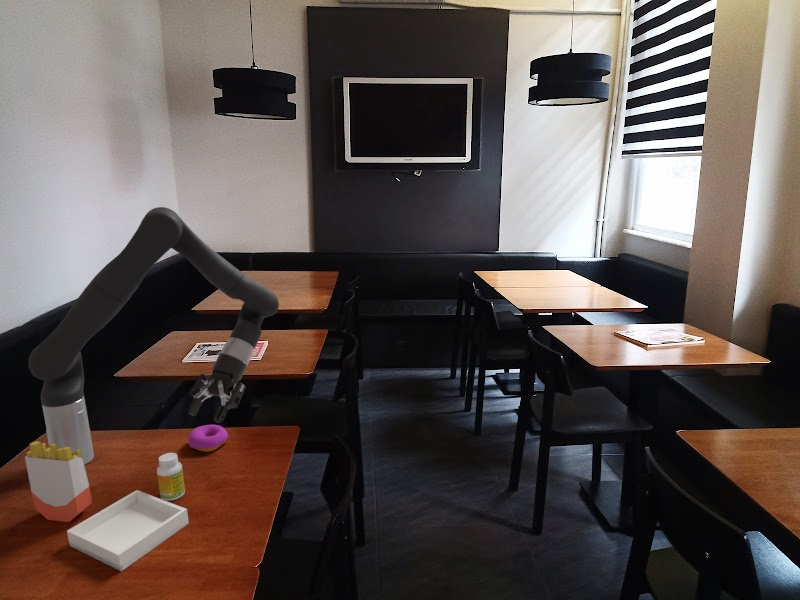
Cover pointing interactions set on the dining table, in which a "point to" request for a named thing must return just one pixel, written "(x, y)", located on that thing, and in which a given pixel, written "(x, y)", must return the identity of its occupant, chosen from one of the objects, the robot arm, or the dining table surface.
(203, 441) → the donut
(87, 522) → the tray
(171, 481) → the supplement bottle
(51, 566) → the dining table surface
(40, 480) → the french fries container
